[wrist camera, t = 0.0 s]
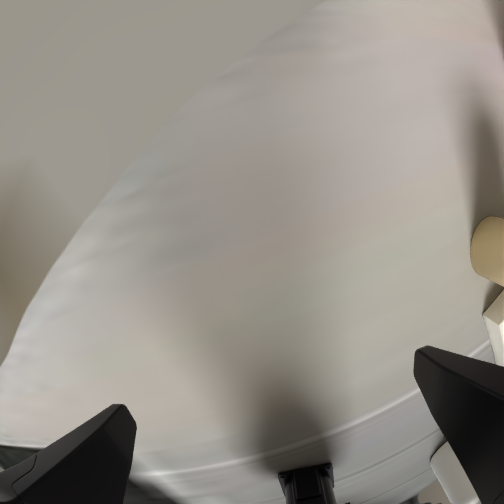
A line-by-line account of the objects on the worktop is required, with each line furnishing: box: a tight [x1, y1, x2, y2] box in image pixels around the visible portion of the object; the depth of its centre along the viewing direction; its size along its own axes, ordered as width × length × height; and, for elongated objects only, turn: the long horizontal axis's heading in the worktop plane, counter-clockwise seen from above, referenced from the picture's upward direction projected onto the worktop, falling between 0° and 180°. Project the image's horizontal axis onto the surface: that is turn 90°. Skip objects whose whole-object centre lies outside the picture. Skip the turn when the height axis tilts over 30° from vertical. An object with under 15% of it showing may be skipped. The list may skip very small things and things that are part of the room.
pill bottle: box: [431, 441, 481, 504], centre depth 20 cm, size 8×8×15 cm
